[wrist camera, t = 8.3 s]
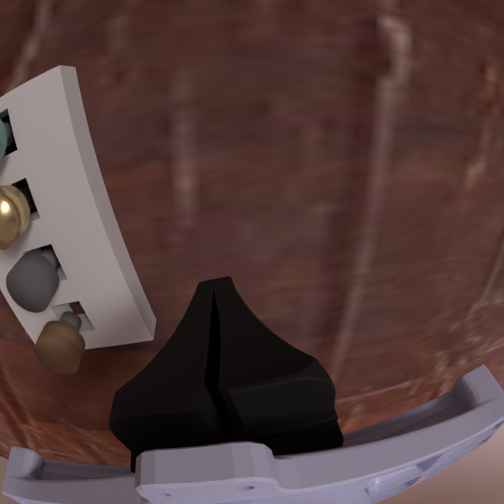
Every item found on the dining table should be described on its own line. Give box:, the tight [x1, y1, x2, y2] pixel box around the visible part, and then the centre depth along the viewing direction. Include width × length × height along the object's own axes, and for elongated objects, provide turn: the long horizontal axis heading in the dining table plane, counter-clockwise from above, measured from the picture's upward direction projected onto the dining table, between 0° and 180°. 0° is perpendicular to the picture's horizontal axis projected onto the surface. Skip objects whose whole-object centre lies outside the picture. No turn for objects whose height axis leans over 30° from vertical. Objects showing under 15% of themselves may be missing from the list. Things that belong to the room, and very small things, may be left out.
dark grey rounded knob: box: [6, 249, 59, 313], centre depth 18 cm, size 4×4×4 cm
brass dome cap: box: [0, 185, 34, 250], centre depth 15 cm, size 4×4×4 cm
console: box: [0, 66, 156, 349], centre depth 19 cm, size 21×12×2 cm, turn 9°
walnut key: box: [34, 311, 85, 374], centre depth 19 cm, size 4×4×4 cm
